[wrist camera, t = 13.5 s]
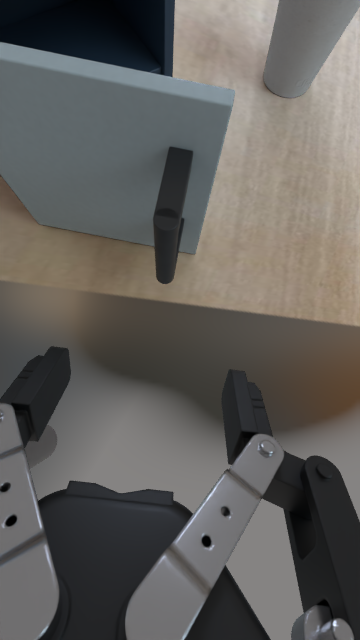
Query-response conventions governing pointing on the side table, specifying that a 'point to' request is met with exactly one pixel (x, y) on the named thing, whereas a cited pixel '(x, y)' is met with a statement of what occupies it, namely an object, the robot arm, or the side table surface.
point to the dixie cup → (304, 42)
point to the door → (111, 148)
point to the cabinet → (95, 30)
